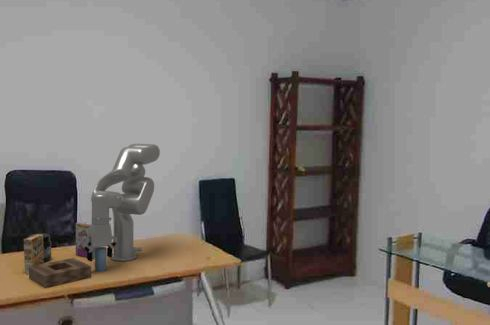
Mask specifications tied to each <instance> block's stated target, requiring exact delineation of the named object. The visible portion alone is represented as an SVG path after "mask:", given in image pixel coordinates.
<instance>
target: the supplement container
mask: <svg viewBox="0 0 490 325" xmlns="http://www.w3.org/2000/svg"><path fill="white" fill-rule="evenodd" d="M35 234H37V235H43V259H44V263H48V262H49V261H50V260H51V259H52V241H51V235H50V234H49V233H34V234H33V233H32V234H29V236H28V237H30V236H33V235H35Z"/></svg>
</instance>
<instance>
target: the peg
mask: <svg viewBox="0 0 490 325" xmlns="http://www.w3.org/2000/svg"><path fill="white" fill-rule="evenodd" d="M94 271H95V272H96V273H101V272H102V273H103V272H106V271H107V246H103V247H97V248H95V258H94Z"/></svg>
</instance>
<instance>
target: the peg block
mask: <svg viewBox="0 0 490 325" xmlns="http://www.w3.org/2000/svg"><path fill="white" fill-rule="evenodd" d="M90 278H92V266H91V265H89V264H88V263H86V262H84V261H81V260H79V259H77V258H74V257H71V258H66V259H61V260H56V261H55V260H54V261H50V262H44V264H40V265H35V266H30V267H29V273H28V279H30V280H31V281H32V282H35V283H36V284H38V285H39V286H42V287H43V288H46V289H47V288H48V289H49V288H51V287H55V286H56V287H57V286H60V285H64V284H68V283H73V282H77V281H80V280H81V281H82V280H86V279H90Z"/></svg>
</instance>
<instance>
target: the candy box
mask: <svg viewBox="0 0 490 325" xmlns="http://www.w3.org/2000/svg"><path fill="white" fill-rule="evenodd" d="M34 234H35V235H33V234H32V235H33V236H30V235H29V236H30V237H29V236H27V237H25V238H23V254H24V255H23V258H24V260H23V262H24V273H25V274H29V267H30V266H35V265H40V264H45V262H44V259H43V235H37V234H38V233H34Z"/></svg>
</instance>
